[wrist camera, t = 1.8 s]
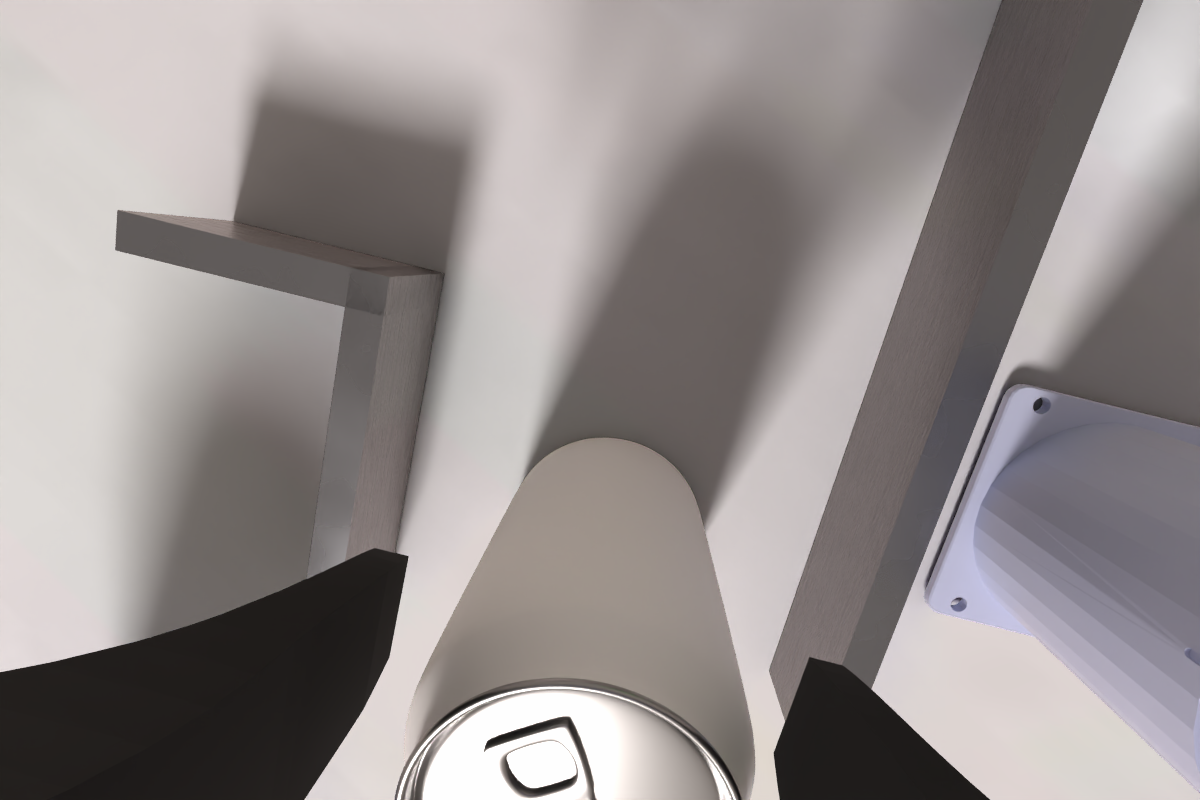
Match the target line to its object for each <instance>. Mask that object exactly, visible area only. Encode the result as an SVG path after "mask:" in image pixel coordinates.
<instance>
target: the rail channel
mask: <svg viewBox="0 0 1200 800" xmlns="http://www.w3.org/2000/svg"><path fill="white" fill-rule="evenodd" d="M1142 2H1143V0H1002V3H1001V6H1000V9H999V12H998V15H997V17H996V20H995V23H994V26H993V29H992V32H991V35H990V38H989V40H988V43H987V46H986V49H985V52H984V55H983V58H982V61H981V63H980V66H979V69H978V72H977V75H976V78H975V81H974V84H973V86H972V89H971V92H970V95H969V98H968V101H967V104H966V107H965V109H964V112H963V115H962V118H961V121H960V124H959V127H958V130H957V132H956V135H955V138H954V141H953V144H952V147H951V150H950V153H949V155H948V158H947V161H946V164H945V167H944V170H943V173H942V176H941V178H940V181H939V184H938V187H937V190H936V193H935V196H934V199H933V201H932V204H931V207H930V210H929V213H928V216H927V219H926V222H925V224H924V227H923V230H922V233H921V236H920V239H919V242H918V245H917V247H916V250H915V253H914V256H913V259H912V262H911V265H910V268H909V270H908V273H907V276H906V279H905V282H904V285H903V288H902V291H901V293H900V296H899V299H898V302H897V305H896V308H895V311H894V314H893V316H892V319H891V322H890V325H889V328H888V331H887V334H886V337H885V339H884V342H883V345H882V348H881V351H880V354H879V357H878V360H877V362H876V365H875V368H874V371H873V374H872V377H871V380H870V383H869V385H868V388H867V391H866V394H865V397H864V400H863V403H862V406H861V408H860V411H859V414H858V417H857V420H856V423H855V426H854V429H853V431H852V434H851V437H850V440H849V443H848V446H847V449H846V452H845V454H844V457H843V460H842V463H841V466H840V469H839V472H838V475H837V477H836V480H835V483H834V486H833V489H832V492H831V495H830V498H829V500H828V503H827V506H826V509H825V512H824V515H823V518H822V521H821V523H820V526H819V529H818V532H817V535H816V538H815V541H814V544H813V546H812V549H811V552H810V555H809V558H808V561H807V564H806V567H805V569H804V572H803V575H802V578H801V581H800V584H799V587H798V590H797V592H796V595H795V598H794V601H793V604H792V607H791V610H790V613H789V615H788V618H787V621H786V624H785V627H784V630H783V633H782V636H781V638H780V641H779V644H778V647H777V650H776V653H775V656H774V659H773V661H772V664H771V667H770V670H769V672H770V675H771V679H772V682H773V685H774V688H775V691H776V694H777V697H778V700H779V704H780V707H781V710H782V713H783V716H784V719H785V721H786V719H787V716H788V713H789V711H790V708H791V705H792V702H793V700H794V697H795V694H796V692H797V689H798V686H799V684H800V681H801V678H802V675H803V673H804V670H805V667H806V665H807V662H808V659H809V657H811V658H815V659H819V660H823V661H827V662H831V663H835V664H839V665H843V666H845V667H846V668H847V669H848V670H850V671H851V672H852V673H853V674H855V675H856V676H857V677H858V678H859V679H860V680H862V681H863V682H864V683H865V684H866V685H867V686H868V687H869V688H870V689H871V688H872V686H873V683H874V681H875V678H876V676H877V673H878V671H879V668H880V666H881V663H882V660H883V658H884V655H885V653H886V650H887V648H888V645H889V643H890V640H891V638H892V635H893V633H894V630H895V628H896V625H897V623H898V620H899V617H900V615H901V612H902V610H903V607H904V605H905V602H906V600H907V597H908V595H909V592H910V590H911V587H912V585H913V582H914V579H915V577H916V574H917V572H918V569H919V567H920V564H921V562H922V559H923V557H924V554H925V552H926V549H927V547H928V544H929V541H930V539H931V536H932V534H933V531H934V529H935V526H936V524H937V521H938V519H939V516H940V514H941V511H942V509H943V506H944V503H945V501H946V498H947V496H948V493H949V491H950V488H951V486H952V483H953V481H954V478H955V476H956V473H957V471H958V468H959V465H960V463H961V460H962V458H963V455H964V453H965V450H966V448H967V445H968V443H969V440H970V438H971V435H972V433H973V430H974V427H975V425H976V422H977V420H978V417H979V415H980V412H981V410H982V407H983V405H984V402H985V400H986V397H987V395H988V392H989V390H990V387H991V384H992V382H993V379H994V377H995V374H996V372H997V369H998V367H999V364H1000V362H1001V359H1002V357H1003V354H1004V352H1005V349H1006V346H1007V344H1008V341H1009V339H1010V336H1011V334H1012V331H1013V329H1014V326H1015V324H1016V321H1017V319H1018V316H1019V314H1020V311H1021V308H1022V306H1023V303H1024V301H1025V298H1026V296H1027V293H1028V291H1029V288H1030V286H1031V283H1032V281H1033V278H1034V276H1035V273H1036V270H1037V268H1038V265H1039V263H1040V260H1041V258H1042V255H1043V253H1044V250H1045V248H1046V245H1047V243H1048V240H1049V238H1050V235H1051V232H1052V230H1053V227H1054V225H1055V222H1056V220H1057V217H1058V215H1059V212H1060V210H1061V207H1062V205H1063V202H1064V200H1065V197H1066V195H1067V192H1068V189H1069V187H1070V184H1071V182H1072V179H1073V177H1074V174H1075V172H1076V169H1077V167H1078V164H1079V162H1080V159H1081V157H1082V154H1083V151H1084V149H1085V146H1086V144H1087V141H1088V139H1089V136H1090V134H1091V131H1092V129H1093V126H1094V124H1095V121H1096V119H1097V116H1098V113H1099V111H1100V108H1101V106H1102V103H1103V101H1104V98H1105V96H1106V93H1107V91H1108V88H1109V86H1110V83H1111V81H1112V78H1113V75H1114V73H1115V70H1116V68H1117V65H1118V63H1119V60H1120V58H1121V55H1122V53H1123V50H1124V48H1125V45H1126V43H1127V40H1128V37H1129V35H1130V32H1131V30H1132V27H1133V25H1134V22H1135V20H1136V17H1137V15H1138V12H1139V10H1140V7H1141V5H1142ZM115 250H117V251H121V252H125V253H129V254H133V255H137V256H141V257H145V258H149V259H153V260H157V261H161V262H165V263H169V264H173V265H178V266H182V267H186V268H190V269H194V270H198V271H202V272H206V273H210V274H214V275H218V276H222V277H226V278H230V279H234V280H238V281H242V282H246V283H250V284H254V285H258V286H263V287H267V288H271V289H275V290H279V291H283V292H287V293H291V294H295V295H299V296H303V297H307V298H311V299H315V300H319V301H323V302H327V303H331V304H335V305H339V306H343V307H345V312H344V319H343V326H342V333H341V340H340V347H339V354H338V361H337V368H336V375H335V382H334V389H333V396H332V403H331V410H330V417H329V424H328V431H327V438H326V445H325V452H324V459H323V466H322V473H321V480H320V487H319V494H318V501H317V508H316V515H315V522H314V529H313V536H312V543H311V550H310V557H309V564H308V571H307V578H306V579H308V578H310V577H312V576H314V575H316V574H319V573H321V572H323V571H325V570H327V569H329V568H332V567H334V566H336V565H338V564H340V563H342V562H344V561H346V560H348V559H351V558H353V557H355V556H357V555H359V554H361V553H364V552H366V551H368V550H371V549H373V548H377V549H381V550H385V551H389V552H393V553H395V549H396V544H397V538H398V533H399V527H400V521H401V516H402V510H403V504H404V499H405V493H406V487H407V482H408V476H409V471H410V465H411V459H412V454H413V448H414V442H415V437H416V431H417V425H418V420H419V414H420V409H421V403H422V397H423V392H424V386H425V380H426V375H427V369H428V364H429V358H430V352H431V347H432V341H433V335H434V330H435V324H436V318H437V313H438V307H439V302H440V296H441V290H442V285H443V279H444V273H441V272H437V271H432V270H428V269H424V268H420V267H416V266H412V265H408V264H404V263H400V262H396V261H392V260H388V259H384V258H380V257H376V256H372V255H368V254H364V253H359V252H355V251H351V250H347V249H343V248H339V247H335V246H331V245H327V244H323V243H319V242H315V241H311V240H307V239H303V238H299V237H295V236H291V235H286V234H282V233H278V232H274V231H270V230H266V229H262V228H258V227H254V226H250V225H246V224H242V223H238V222H234V221H226V220H215V219H205V218H195V217H185V216H174V215H164V214H154V213H143V212H133V211H123V210H118V211H117V229H116V247H115Z"/></svg>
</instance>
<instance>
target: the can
mask: <svg viewBox="0 0 1200 800" xmlns="http://www.w3.org/2000/svg"><path fill="white" fill-rule="evenodd" d="M404 761H405V766H404V768H403V771H402V773H401V776H400V779H399V782H398V786H397V790H396V795H395V800H750V798H751V794H752V788H753V783H754V775H755V749H754V739H753V731H752V725H751V720H750V715H749V710H748V705H747V701H746V697H745V692H744V688H743V684H742V679H741V675H740V671H739V667H738V663H737V658H736V654H735V650H734V646H733V642H732V638H731V634H730V630H729V626H728V621H727V617H726V613H725V609H724V605H723V601H722V597H721V593H720V589H719V585H718V581H717V577H716V573H715V569H714V565H713V561H712V557H711V553H710V549H709V545H708V541H707V537H706V534H705V530H704V526H703V522H702V518H701V515H700V511H699V508H698V505H697V502H696V499H695V497H694V494H693V492H692V490H691V488H690V486H689V485H688V483H687V481H686V480H685V479H684V477H683V476H682V474H681V473H680V472H679V471H678V470H677V469H676V468H675V467H674V466H673V465H672V464H671V463H670V462H669V461H668V460H667V459H665V458H664V457H663V456H661V455H660V454H658V453H657V452H655V451H653V450H651V449H649V448H647V447H645V446H643V445H641V444H638V443H635V442H632V441H628V440H623V439H617V438H590V439H584V440H580V441H576V442H573V443H570V444H567V445H565V446H563V447H560V448H559V449H557V450H555V451H553V452H552V453H550V454H549V455H547V456H546V457H544V458H543V459H542V460H541V461H540V462H539V463H538V464H537V465H536V466H535V467H534V468H533V469H532V470H531V471H530V472H529V474H528V475H527V476H526V478H525V479H524V481H523V482H522V484H521V485H520V487H519V489H518V491H517V492H516V494H515V496H514V498H513V500H512V501H511V503H510V505H509V507H508V509H507V511H506V513H505V515H504V516H503V518H502V520H501V522H500V524H499V526H498V528H497V530H496V532H495V534H494V535H493V537H492V539H491V541H490V543H489V545H488V547H487V549H486V551H485V553H484V554H483V556H482V558H481V560H480V562H479V564H478V566H477V568H476V570H475V572H474V574H473V576H472V577H471V579H470V581H469V583H468V585H467V587H466V589H465V591H464V593H463V595H462V597H461V599H460V601H459V603H458V604H457V606H456V608H455V610H454V612H453V614H452V616H451V618H450V620H449V622H448V624H447V626H446V628H445V630H444V632H443V634H442V636H441V638H440V640H439V642H438V644H437V646H436V647H435V649H434V651H433V653H432V655H431V657H430V659H429V662H428V664H427V666H426V668H425V670H424V672H423V674H422V676H421V679H420V681H419V683H418V685H417V688H416V691H415V693H414V696H413V699H412V702H411V705H410V708H409V712H408V716H407V721H406V727H405V738H404Z"/></svg>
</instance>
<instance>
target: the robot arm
mask: <svg viewBox="0 0 1200 800" xmlns="http://www.w3.org/2000/svg"><path fill="white" fill-rule="evenodd" d="M1039 398H1042V400H1043V403H1042V406H1041V407H1040V409H1038V410H1036V411H1034V409H1033V404H1034V402H1035V401H1036V400H1037V399H1039ZM408 557H409V556H405V555H401V554H397V553H393V552H389V551H385V550H381V549H377V548H373V549H371V550H368V551H366V552H364V553H361V554H359V555H357V556H355V557H353V558H351V559H348V560H346V561H344V562H342V563H340V564H338V565H336V566H334V567H332V568H329V569H327V570H325V571H323V572H321V573H319V574H316V575H314V576H312V577H310V578H308V579H305V580H303V581H301V582H299V583H297V584H294V585H292V586H290V587H288V588H286V589H283V590H281V591H279V592H276V593H274V594H271V595H269V596H266V597H264V598H261V599H259V600H256V601H254V602H251V603H249V604H246V605H244V606H241V607H239V608H236V609H234V610H231V611H229V612H226V613H224V614H221V615H218V616H216V617H213V618H210V619H207V620H204V621H201V622H198V623H195V624H192V625H190V626H186V627H183V628H180V629H177V630H173V631H170V632H167V633H164V634H160V635H157V636H154V637H151V638H147V639H144V640H140V641H137V642H133V643H129V644H125V645H121V646H117V647H113V648H108V649H104V650H100V651H96V652H92V653H88V654H84V655H80V656H76V657H72V658H67V659H63V660H59V661H55V662H50V663H46V664H41V665H36V666H31V667H25V668H20V669H15V670H10V671H5V672H0V800H304V799H305V798H306V796H307V795H308V793H309V792H310V790H311V789H312V787H313V786H314V784H315V783H316V781H317V780H318V778H319V777H320V775H321V774H322V772H323V770H324V769H325V767H326V766H327V764H328V763H329V761H330V760H331V758H332V757H333V755H334V754H335V752H336V751H337V749H338V748H339V746H340V745H341V743H342V742H343V740H344V738H345V737H346V735H347V734H348V732H349V731H350V729H351V728H352V726H353V725H354V723H355V722H356V720H357V718H358V717H359V715H360V714H361V712H362V711H363V709H364V707H365V705H366V703H367V701H368V699H369V697H370V695H371V693H372V691H373V689H374V687H375V685H376V683H377V681H378V679H379V677H380V675H381V673H382V671H383V669H384V667H385V665H386V663H387V661H388V659H389V656H390V651H391V646H392V640H393V635H394V630H395V625H396V619H397V614H398V609H399V604H400V599H401V593H402V588H403V583H404V578H405V572H406V567H407V562H408ZM957 597H961V600H960V602H959V603H958V604H956V605H951V602H952V601H953V599H955V598H957ZM924 599H925V602H926V603H927V604H928V606H929V607H930V608H931V609H932V610H933V611H935V612H937V613H940V614H944V615H948V616H952V617H956V618H960V619H964V620H968V621H972V622H976V623H980V624H984V625H988V626H992V627H996V628H1000V629H1004V630H1008V631H1012V632H1016V633H1020V634H1024V635H1028V636H1032V637H1035V638H1036V639H1037V640H1039V641H1040V642H1041V643H1042V644H1043V645H1044V646H1045V647H1046V648H1047V649H1048V650H1049V651H1050V652H1051V653H1052V654H1053V655H1054V656H1055V657H1056V658H1058V659H1059V660H1060V661H1061V662H1062V663H1063V664H1064V665H1065V666H1066V667H1067V668H1068V669H1069V670H1070V671H1071V672H1072V673H1073V674H1074V675H1075V676H1077V677H1078V678H1079V679H1080V680H1081V681H1082V682H1083V683H1084V684H1085V685H1086V686H1087V687H1088V688H1089V689H1090V690H1091V691H1092V692H1093V693H1094V694H1096V695H1097V696H1098V697H1099V698H1100V699H1101V700H1102V701H1103V702H1104V703H1105V704H1106V705H1107V706H1108V707H1109V708H1110V709H1111V710H1112V711H1113V712H1114V713H1116V714H1117V715H1118V716H1119V717H1120V718H1121V719H1122V720H1123V721H1124V722H1125V723H1126V724H1127V725H1128V726H1129V727H1130V728H1131V729H1132V730H1133V731H1135V732H1136V733H1137V734H1138V735H1139V736H1140V737H1141V738H1142V739H1143V740H1144V741H1145V742H1146V743H1147V744H1148V745H1149V746H1150V747H1151V748H1152V749H1154V750H1155V751H1156V752H1157V753H1158V754H1159V755H1160V756H1161V757H1162V758H1163V759H1164V760H1165V761H1166V762H1167V763H1168V764H1169V765H1170V766H1171V767H1173V768H1174V769H1175V770H1176V771H1177V772H1178V773H1179V774H1180V775H1181V776H1182V777H1183V778H1184V779H1185V780H1186V781H1187V782H1188V783H1189V784H1190V785H1192V786H1193V787H1194V788H1195V789H1196V790H1197V791H1198V792H1199V793H1200V427H1197V426H1193V425H1189V424H1185V423H1181V422H1177V421H1173V420H1169V419H1165V418H1161V417H1157V416H1153V415H1149V414H1145V413H1141V412H1137V411H1132V410H1128V409H1124V408H1120V407H1116V406H1112V405H1108V404H1104V403H1100V402H1096V401H1092V400H1088V399H1084V398H1080V397H1076V396H1072V395H1068V394H1063V393H1059V392H1055V391H1051V390H1047V389H1043V388H1039V387H1035V386H1031V385H1027V384H1017V385H1014V386H1012V387H1010V388H1009V389H1008V390H1007V391H1006V393H1005V394H1004V396H1003V398H1002V401H1001V403H1000V406H999V408H998V411H997V413H996V416H995V418H994V421H993V423H992V426H991V428H990V431H989V433H988V436H987V438H986V441H985V443H984V446H983V448H982V451H981V453H980V456H979V458H978V461H977V463H976V466H975V468H974V471H973V473H972V476H971V478H970V481H969V483H968V486H967V488H966V491H965V493H964V496H963V498H962V501H961V503H960V506H959V508H958V511H957V513H956V516H955V518H954V521H953V523H952V526H951V528H950V531H949V533H948V536H947V538H946V541H945V543H944V546H943V548H942V551H941V553H940V556H939V558H938V560H937V563H936V565H935V568H934V570H933V573H932V575H931V578H930V580H929V583H928V585H927V588H926V590H925V594H924ZM774 760H775V768H776V776H777V784H778V791H779V797H780V800H990V799H989V798H987V797H986V796H985V795H984V794H983V793H982V792H981V791H979V790H978V789H977V788H976V787H975V786H974V785H973V784H971V783H970V782H969V781H968V780H967V779H966V778H965V777H964V776H963V775H962V774H960V773H959V772H958V771H957V770H956V769H955V768H954V767H953V766H952V765H951V764H949V763H948V762H947V761H946V760H945V759H944V758H943V757H942V756H941V755H940V754H939V753H938V752H937V751H936V750H934V749H933V748H932V747H931V746H930V745H929V744H928V743H927V742H926V741H925V740H924V739H923V738H922V737H921V736H920V735H919V734H918V733H917V732H916V731H914V730H913V729H912V728H911V727H910V726H909V725H908V724H907V723H906V722H905V721H904V720H903V719H902V718H901V717H900V716H899V715H898V714H897V713H896V712H895V711H894V710H893V709H892V708H890V707H889V706H888V705H887V704H886V703H885V702H884V701H883V700H882V699H881V698H880V697H879V696H878V695H877V694H876V693H875V692H874V691H872V690H871V689H870V688H869V687H868V686H867V685H866V684H865V683H864V682H863V681H862V680H860V679H859V678H858V677H857V676H856V675H855V674H853V673H852V672H851V671H850V670H848V669H847V668H846V667H845V666H843V665H839V664H835V663H831V662H827V661H823V660H819V659H815V658H811V657H809V659H808V662H807V665H806V667H805V670H804V673H803V675H802V678H801V681H800V684H799V686H798V689H797V692H796V694H795V697H794V700H793V702H792V705H791V708H790V711H789V713H788V716H787V719H786V721H785V724H784V727H783V729H782V732H781V735H780V737H779V740H778V743H777V746H776V748H775V751H774Z"/></svg>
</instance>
